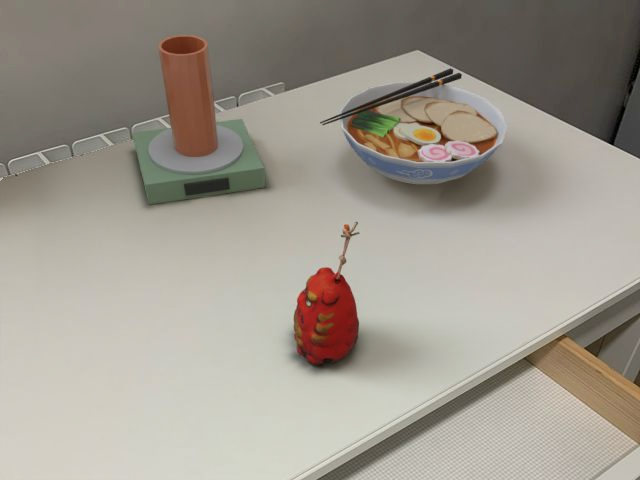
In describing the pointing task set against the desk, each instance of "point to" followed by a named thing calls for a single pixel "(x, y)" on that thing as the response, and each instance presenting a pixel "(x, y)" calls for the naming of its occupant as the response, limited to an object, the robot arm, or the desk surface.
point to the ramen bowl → (422, 129)
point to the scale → (198, 165)
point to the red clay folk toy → (327, 314)
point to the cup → (189, 94)
